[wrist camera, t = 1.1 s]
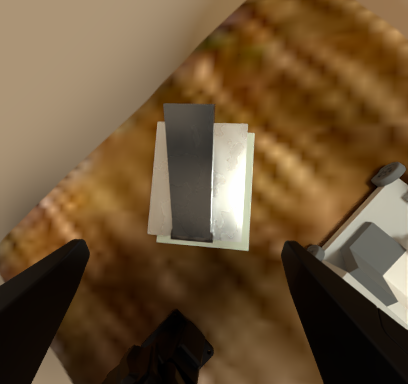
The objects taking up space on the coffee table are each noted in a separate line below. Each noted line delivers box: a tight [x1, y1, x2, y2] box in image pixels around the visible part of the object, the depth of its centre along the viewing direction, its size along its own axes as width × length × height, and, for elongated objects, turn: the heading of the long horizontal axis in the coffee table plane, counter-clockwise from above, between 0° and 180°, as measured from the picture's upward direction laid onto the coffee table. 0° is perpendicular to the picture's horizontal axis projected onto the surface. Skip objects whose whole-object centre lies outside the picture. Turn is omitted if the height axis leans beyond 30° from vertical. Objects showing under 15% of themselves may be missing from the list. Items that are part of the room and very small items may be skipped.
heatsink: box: [147, 122, 248, 242], centre depth 20 cm, size 11×8×7 cm
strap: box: [164, 103, 215, 243], centre depth 14 cm, size 10×3×1 cm, turn 177°
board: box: [157, 133, 255, 251], centre depth 24 cm, size 14×11×1 cm
